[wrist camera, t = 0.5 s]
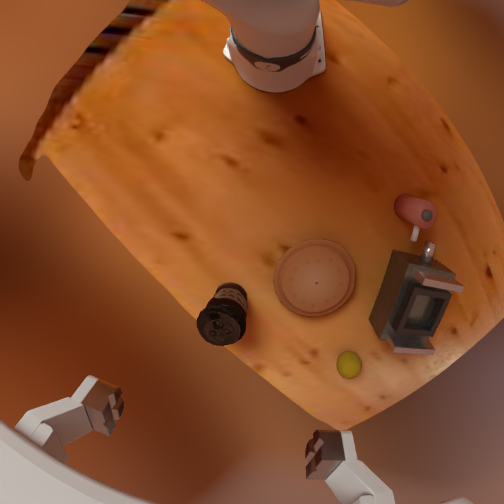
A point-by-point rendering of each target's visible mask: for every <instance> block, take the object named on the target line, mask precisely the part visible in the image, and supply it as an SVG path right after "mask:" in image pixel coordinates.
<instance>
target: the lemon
mask: <svg viewBox="0 0 504 504" xmlns="http://www.w3.org/2000/svg"><path fill="white" fill-rule="evenodd" d="M361 367H362V363H361V359H360V357H359V356H358V355H357V354H356V353H355V352H352V351H346V352H344V353H342V354H341V355H340V356H339V357H338V359H337V370H338V372H339V374H340V375H341V376H342V377H343V378H346V379H353V378H355V377H357V376H358V375H359V373H360V372H361Z"/></svg>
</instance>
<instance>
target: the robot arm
mask: <svg viewBox="0 0 504 504" xmlns="http://www.w3.org/2000/svg"><path fill="white" fill-rule="evenodd" d="M201 1H203V2H205V3H207V4H209V5H210V6H212V7H214V8H215V9H217V10H218V11H220V12H221V13H223V14H224V15H225V16H226V17H227V19H228V20H229V22H230V24H231V27H230V32H231V35H230V37H229V38H227V44H226V46H225V48H224V50H223V54H224V56H225V58H226V59H228V60H229V61H230V62H232V63H233V64H234V65H235V67H236V69H237V71H238V73H239V75H240V76H241V77H242V79H243V80H244V81H245V82H247V83H248V84H249V85H251V86H253V87H254V88H257V89H259V90H262V91H266V92H284V91H289V90H292V89H294V88H296V87H298V86H300V85H301V84H302V83H304V82H305V81H306V80H307V79H308V78H309V77H311V76H314V75H317V74H320V73H322V72H324V71H325V68H326V62H325V49H324V39H323V29H322V20H321V12H320V3H319V0H201ZM347 1H355V2H362V3H369V4H376V5H382V6H388V7H396V6H399V5H401V4H404V3H406V2H408V1H409V0H347ZM317 27H318V28H317ZM318 60H320V61H321V62H318ZM121 394H122V390H121V388H120V387H117V386H114V385H112V384H110V383H107V382H105V381H102V380H100V379H98V378H96V377H93V376H91V375H89V376H88V377H86V379H85V380H84V381H83V383H82V384H81V385H80V387H79V388H78V389H77V391H76V392H75V393H74V395H73V396H72V397H71V398H69V397H67V398H64V399H62V400H59V401H56V402H53V403H50V404H47V405H44V406H41V407H38V408H35V409H32V410H29V411H27V412H26V413H25V415H24V416H23V417H22V419H21V420H20V421H19V422H18V424H17V425H16V426H15V428H14V429H12V428H11V427H10V426H8V425H7V424H6V423H5V422H3V421H2V420H1V419H0V504H159V503H156V502H153V501H149V500H147V499H143V498H141V497H138V496H135V495H132V494H130V493H127V492H125V491H122V490H120V489H117V488H114V487H112V486H110V485H108V484H105V483H103V482H101V481H99V480H97V479H94V478H92V477H90V476H88V475H86V474H84V473H82V472H80V471H78V470H76V469H75V468H73V467H71V466H69V465H67V464H66V462H67V460H68V459H69V456H68V454H67V453H66V451H65V449H64V448H63V446H65V445H67V444H69V443H70V442H72V441H74V440H76V439H78V438H80V437H82V436H83V435H85V434H87V433H89V432H90V431H92V430H93V429H94V430H96V431H98V432H101V433H103V434H105V435H108V436H110V435H111V433H112V431H113V429H114V428H115V426H116V425H115V420H117V419H119V418H120V417H121V415H122V412H123V409H124V401H123V399H122V397H121ZM305 458H306V460H307V461H308V462H309V463H308V465H307V466H306V479H316V480H325V481H326V483H327V484H328V486H329V487H330V488H331V490H332V491H333V492H334V494H335V495H336V497H337V498H338V499H339V501H340V502H341V503H342V504H395V501H394V497H393V492H392V490H391V489H389V488H388V487H387V486H386V485H385V484H384V483H383V482H382V481H381V480H380V479H379V478H378V477H377V476H376V475H375V474H374V473H373V472H372V471H371V470H370V469H369V468H368V467H367V466H366V465H365V464H364V463H363V462H362V461H358V459H357V454H356V449H355V444H354V440H353V435H352V432H351V431H339V430H316V431H315V432H314V433H313V438H312V439H310V440H309V442H308V443H307V447H306V451H305ZM436 504H473V503H472V502H471V501H469V500H468V499H466V498H464V497H462V496H458V497H454V498H451V499H448V500H445V501H442V502H440V503H436Z"/></svg>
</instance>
